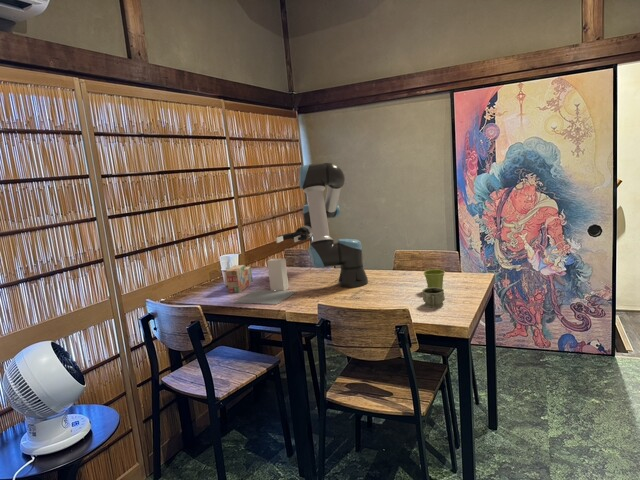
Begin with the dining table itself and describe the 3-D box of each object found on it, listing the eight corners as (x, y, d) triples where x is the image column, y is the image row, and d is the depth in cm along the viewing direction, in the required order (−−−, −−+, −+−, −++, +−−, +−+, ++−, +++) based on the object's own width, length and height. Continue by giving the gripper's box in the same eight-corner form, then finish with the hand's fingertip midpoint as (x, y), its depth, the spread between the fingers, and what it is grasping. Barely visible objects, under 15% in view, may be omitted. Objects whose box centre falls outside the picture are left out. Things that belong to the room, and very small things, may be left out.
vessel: (423, 300, 184) (422, 286, 184) (445, 300, 182) (444, 285, 181) (422, 309, 173) (421, 294, 172) (445, 309, 171) (444, 294, 170)
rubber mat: (296, 292, 217) (296, 291, 217) (276, 304, 199) (276, 303, 199) (256, 290, 227) (256, 289, 227) (234, 302, 209) (234, 301, 209)
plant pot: (434, 294, 190) (433, 275, 189) (420, 290, 199) (419, 272, 197) (450, 290, 195) (449, 271, 193) (435, 286, 203) (434, 268, 201)
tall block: (289, 288, 226) (285, 258, 223) (284, 291, 221) (280, 260, 219) (275, 287, 229) (272, 258, 227) (270, 290, 225) (267, 260, 222)
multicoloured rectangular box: (242, 282, 249) (240, 261, 247) (253, 281, 248) (250, 261, 246) (228, 293, 229) (225, 270, 227) (239, 292, 227) (236, 270, 225)
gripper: (322, 239, 247) (305, 246, 227) (287, 239, 257) (268, 247, 237) (321, 226, 246) (303, 232, 226) (286, 227, 256) (266, 234, 236)
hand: (285, 240), depth 232 cm, fingers open, 10 cm apart
